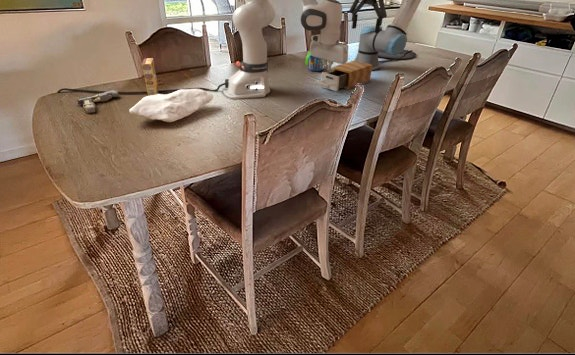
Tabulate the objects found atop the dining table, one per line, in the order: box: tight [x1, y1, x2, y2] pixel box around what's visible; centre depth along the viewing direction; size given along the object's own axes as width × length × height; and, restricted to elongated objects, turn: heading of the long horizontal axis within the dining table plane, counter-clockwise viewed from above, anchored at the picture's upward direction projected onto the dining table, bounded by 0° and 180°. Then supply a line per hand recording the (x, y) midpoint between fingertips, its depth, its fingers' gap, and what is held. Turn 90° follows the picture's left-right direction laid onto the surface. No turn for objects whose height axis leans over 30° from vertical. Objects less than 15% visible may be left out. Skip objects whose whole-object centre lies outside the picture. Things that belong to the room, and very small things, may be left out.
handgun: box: [76, 89, 120, 114], centre depth 155 cm, size 3×18×15 cm
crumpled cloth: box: [129, 88, 214, 123], centre depth 147 cm, size 24×35×9 cm
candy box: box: [141, 57, 160, 96], centre depth 163 cm, size 9×4×15 cm, turn 13°
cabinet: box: [332, 60, 373, 90], centre depth 190 cm, size 19×11×9 cm, turn 136°
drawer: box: [314, 70, 349, 92], centre depth 182 cm, size 24×10×7 cm, turn 136°
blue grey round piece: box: [378, 48, 417, 60], centre depth 248 cm, size 35×35×9 cm
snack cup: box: [304, 49, 328, 72], centre depth 207 cm, size 16×10×10 cm
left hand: (327, 69), depth 173 cm, fingers closed
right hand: (365, 30), depth 183 cm, fingers open, 13 cm apart
